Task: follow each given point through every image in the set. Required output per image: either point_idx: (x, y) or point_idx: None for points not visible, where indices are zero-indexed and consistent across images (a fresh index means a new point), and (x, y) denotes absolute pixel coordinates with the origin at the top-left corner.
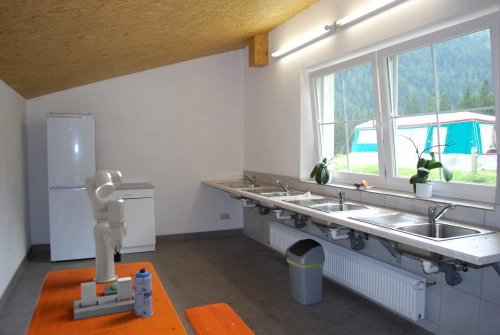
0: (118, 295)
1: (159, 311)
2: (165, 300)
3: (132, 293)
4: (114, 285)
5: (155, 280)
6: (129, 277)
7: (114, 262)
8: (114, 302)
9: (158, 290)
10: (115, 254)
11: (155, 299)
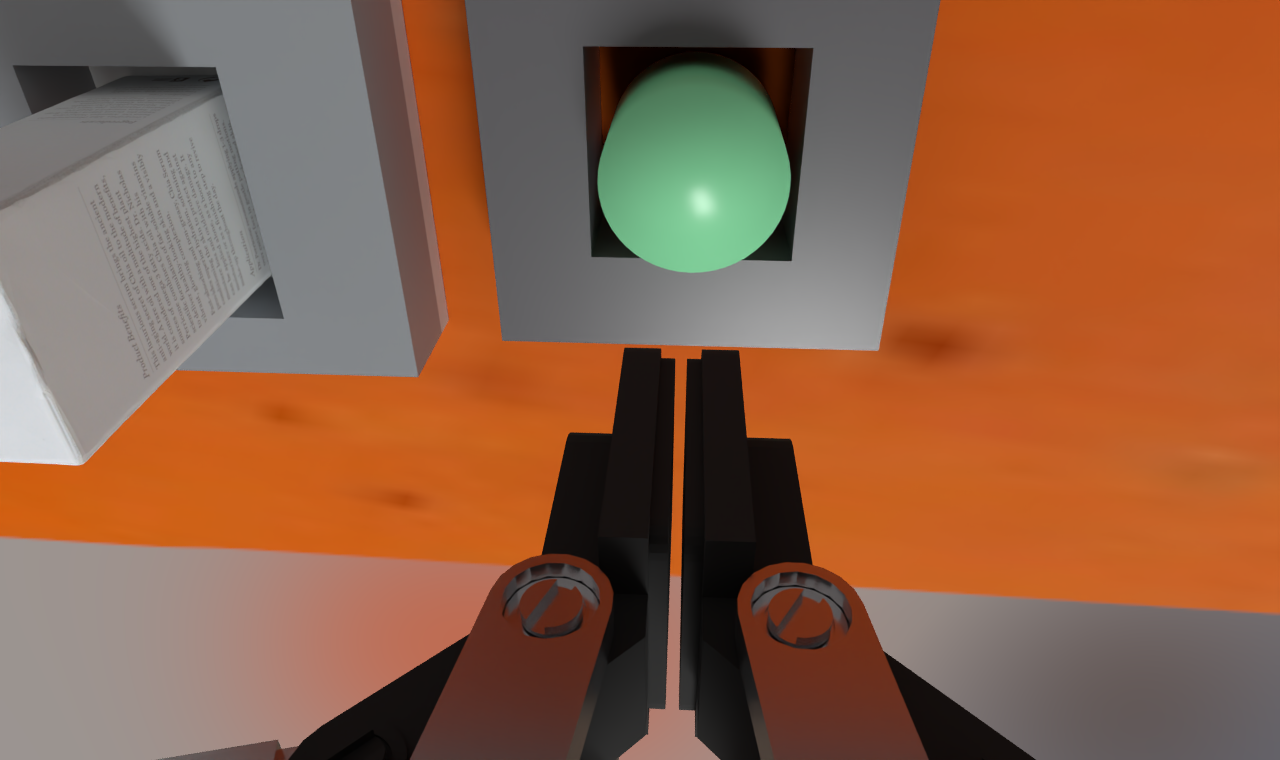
0: (1, 130)
1: None
2: (345, 551)
3: (351, 322)
4: (623, 116)
5: (1009, 592)
6: (33, 448)
7: (629, 352)
8: (9, 35)
9: None
10: (518, 592)
11: (398, 485)
